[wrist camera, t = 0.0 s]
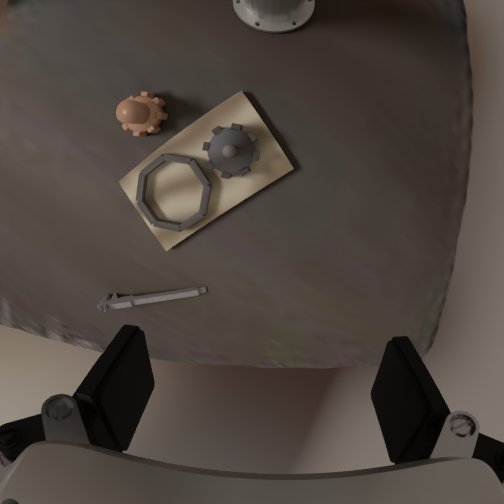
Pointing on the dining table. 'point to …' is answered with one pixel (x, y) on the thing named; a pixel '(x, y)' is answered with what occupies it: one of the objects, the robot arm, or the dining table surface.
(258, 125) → the carrier
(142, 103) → the planet gear
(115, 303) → the caliper
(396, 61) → the dining table surface
